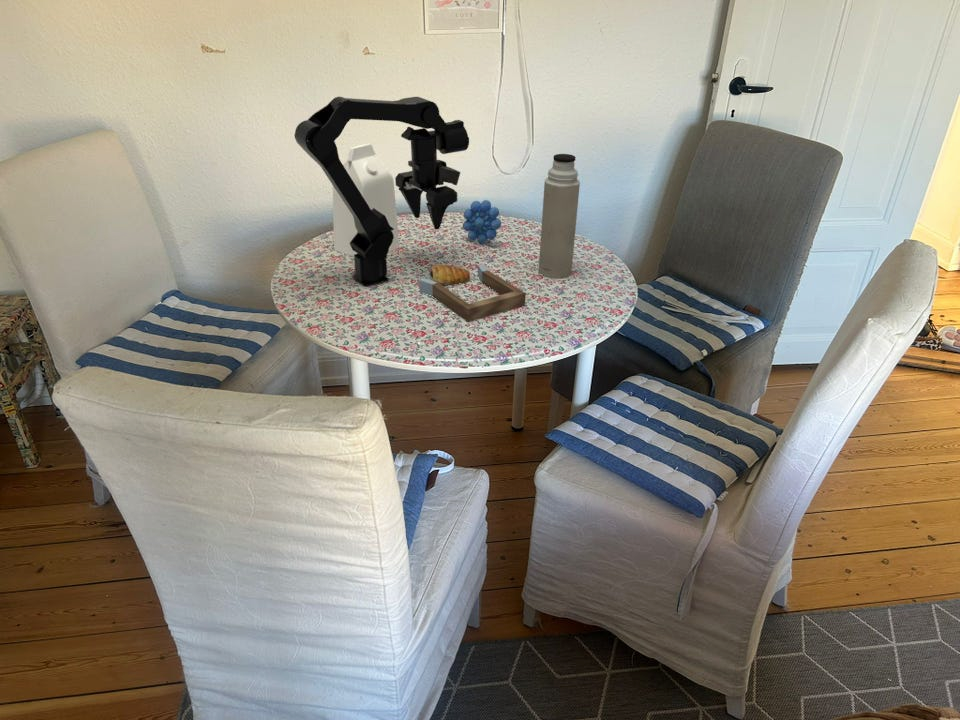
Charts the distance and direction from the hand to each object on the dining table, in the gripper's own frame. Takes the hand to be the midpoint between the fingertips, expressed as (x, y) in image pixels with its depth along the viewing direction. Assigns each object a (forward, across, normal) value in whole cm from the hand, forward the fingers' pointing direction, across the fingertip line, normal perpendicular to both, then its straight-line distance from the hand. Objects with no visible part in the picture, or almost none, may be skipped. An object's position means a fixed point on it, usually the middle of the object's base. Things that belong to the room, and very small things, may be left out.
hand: (427, 223), depth 170 cm
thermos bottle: (+12, -18, -24) cm, 33 cm away
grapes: (+12, +6, -20) cm, 25 cm away
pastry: (+12, -9, 0) cm, 15 cm away
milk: (+11, +18, +8) cm, 23 cm away
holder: (+11, -20, 0) cm, 23 cm away
